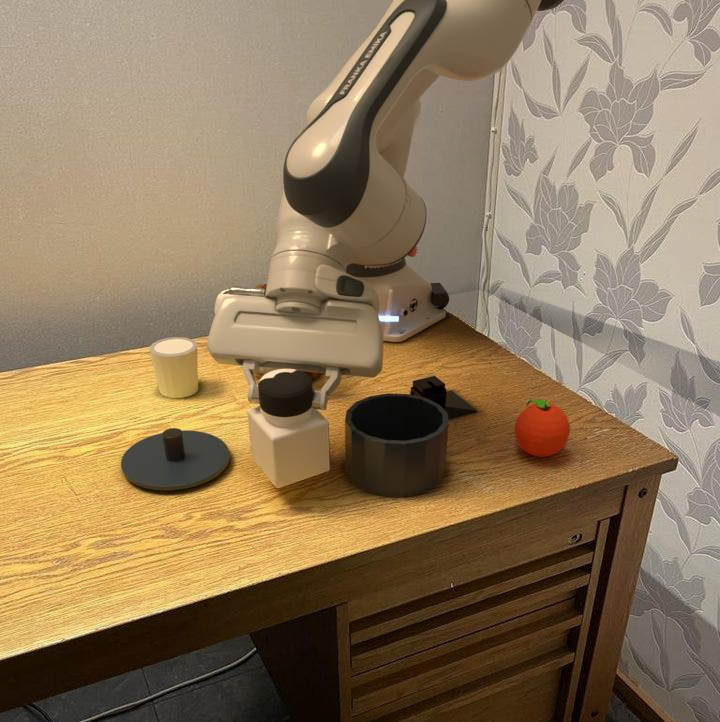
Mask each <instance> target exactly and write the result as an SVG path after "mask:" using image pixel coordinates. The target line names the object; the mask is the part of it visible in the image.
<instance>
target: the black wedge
mask: <svg viewBox="0 0 720 722" xmlns="http://www.w3.org/2000/svg"><path fill="white" fill-rule="evenodd" d="M409 394H410V395H415V396H419V397H424V398H427V399H429V400H431V401H433V402H435V403H437V404H439V405H440V406H441V407H442V408H443V409H444V410H445V411H446V412H447V414H448V421H449V420H453V419H457V418H461V417H465V416H469V415H473V414H477V413H478V409H477V408H475V407H474V406H473V405H472V404H470V403H469V402H468V401H466V400H465V399H463V398H462V397H461V396H460V395H458V394H457V393H456V392H454V391H453V390H448V389H447V388H446V383H445V382H443V381H442V380H441V379H440V378H438V377H437V376H435V375H431V376H428V377H423V378H419V379H415V380H412V386H411V387H410V392H409Z"/></svg>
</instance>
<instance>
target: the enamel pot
mask: <svg viewBox="0 0 720 722" xmlns="http://www.w3.org/2000/svg"><path fill="white" fill-rule="evenodd" d="M449 424H450V423H449V420H448V414H447V412H446V411H445V410H444V409H443V408H442V407H441V406H440V405H439V404H437V403H435V402H433V401H431V400H429V399H427V398H424V397H419V396H415V395H410V393H387V392H386V393H382V394H374V395H370V396H367V397H364V398H362V399H359V400H358V401H357V400H356V401H355V402H354V403H353V404H352V405H351V406H350V407H349V408H348V409H347V410H346V412H345V418H344V446H345V447H344V462H345V463H344V464H345V465H344V466H345V467H344V468H345V469H344V470H345V472H346V475H347V477H348V479H349V481H350V482H351V483H352V484H353V485H355V486H356V487H357V488H359V489H361V490H363V491H365V492H367V493H370V494H373V495H377V496H382V497H391V498H406V497H414V496H417V495H421V494H424V493H427V492H429V491H431V490H433V489H434V488H436V487H437V486H438V485H439V484H440V483H441V482H442V480H443V478H444V476H445V473H446V464H447V452H448V451H447V450H448V439H449Z"/></svg>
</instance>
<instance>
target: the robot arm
mask: <svg viewBox="0 0 720 722" xmlns="http://www.w3.org/2000/svg"><path fill="white" fill-rule="evenodd" d="M564 1H565V0H392V1H391V4H390V5H389V6H388V8H387V10H386V12H385V13H384V14H383V16H382V18H381V19H380V20H379V22H378V24H377V25H376V27H374V29H373V31H371V33H370V34H369V35H368V36H367V38H366V39H364V41H363V42H362V44H360V46H359V47H358V49H357V50H356V51H355V52H354V53H353V55H352V56H351V57H350V58H349V59H348V60H347V62H345V64H344V65H343V67H342V68H341V69H340V70H339V72H338V73H337V74H336V76H335V77H334V78H333V80H332V81H331V82H330V83H329V85H328V86H327V87H326V88H325V89H324V90H323V91H322V92H321V93H320V94H319V95H318V96H317V97H316V98H315V99H314V100H313V101H312V102H311V104H310V105H309V107H308V110H307V112H306V116H305V127H304V128H303V130H301V132H300V133H299V134H298V135H297V136H296V137H295V139H293V141H292V143H291V144H290V146H289V148H288V150H287V152H286V155H285V157H284V162H283V169H282V182H283V183H282V184H283V192H282V195H281V200H280V204H279V209H278V214H277V220H276V221H277V222H276V230H275V231H276V239H277V241H276V246H275V249H274V251H273V253H272V255H271V258H270V263H269V269H268V276H267V282H266V284H267V287H266V288H255V287H241V286H239V285H237V286H236V285H234V286H229V289H224V290H223V291H221V292H220V293H218V294H217V296H216V298H215V302H214V308H213V315H214V317H213V320H212V323H211V326H210V329H209V333H208V338H207V341H206V349H207V351H208V353H209V355H210V356H211V357H212V359H213V360H214V361H215V362H216V363H217V364H219V365H228V366H239V367H242V369H241V370H242V373H243V374H244V377H245V380H246V382H247V384H248V390H247V391H248V392H247V401H248V403H250V404H255V405H260V402H259V391H258V383H257V382H256V378H255V377H257V376H258V375H259V369H260V368H271V369H296V370H300V371H305V372H316V373H320V374H325V377H326V379H327V381H326V382H325V384H324V385H323V386H322V387H321V389H320V390H313V399H312V404H311V405H312V407H313V409H317V410H318V411H327V407H328V401H329V397H330V396H331V395H332V394H333V392H334V391H335V390H336V389H337V388H338V386H339V385H340V384H341V377H342V376H351V377H353V376H354V377H361V378H376V377H377V376H379V374H380V373H381V372H382V370H383V365H384V342H391V343H402V342H404V341H405V340H408V339H410V338H411V337H413V336H415V335H416V334H418V333H421V332H422V331H423V330H426V329H427V328H429V327H430V326H432V325H434V324H436V323H437V322H439V321H441V320H443V319H444V318H446V317H447V314H446V313H447V311H446V310H445V308H446V307H447V306H448V305H449V302H450V296H449V292H448V291H447V290H446V289H445V287H444V286H443V285H442V284H441V282H430V281H429V280H428V279H427V278H426V277H424V276H423V275H422V274H420V272H418V271H416V270H415V269H414V268H413V267H411V266H410V265H409V264H408V263H407V260H406V257H410V258H414V257H415V256H416V255H417V254H418V245H419V243H420V241H421V239H422V237H423V235H424V231H425V229H426V224H427V206H426V203H425V201H424V199H423V197H421V196H420V195H419V193H418V192H417V190H415V188H414V187H413V186H412V185H411V184H410V183H409V182H408V181H407V180H406V179H405V174H406V170H407V166H408V160H409V155H410V149H411V145H412V141H413V137H414V133H415V130H416V127H417V126H418V123H419V120H420V118H421V113H422V112H421V111H422V103H421V97H422V96H423V94H425V92H426V91H428V89H430V87H431V86H432V85H433V84H434V83H435V82H436V81H437V80H438V79H439V78H440V77H444V78H447V79H450V80H451V79H452V80H456V81H463V82H464V81H465V82H475V81H480V80H484V79H486V78H489V77H491V76H494V75H496V74H497V73H499V72H500V71H502V70H503V68H505V66H506V65H507V64H508V63H509V62H510V60H511V59H512V58H513V56H514V55H515V53H516V52H517V51H518V49H519V47H520V45H521V43H522V41H523V39H524V37H525V35H526V33H527V31H528V30H529V27H530V25H531V24H532V21H533V19H534V17H535V15H536V13H537V12H545V11H549V10H554V9H556V8H557V7H558V6H559V5H561V4H562V3H563V2H564Z"/></svg>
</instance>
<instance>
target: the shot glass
mask: <svg viewBox="0 0 720 722" xmlns="http://www.w3.org/2000/svg"><path fill="white" fill-rule="evenodd" d="M148 349H149V355H150V358H151V362H152V366H153V370H154V374H155V379H156V382H157V385H158V390H159V393H160V394H161V395H162V396H163V397H166V398H168V399H183V398H187V397H190V396H192V395H195V394H196V393H197V392H198V391H199V363H198V342H197V341H195V339H191V338H189V337H182V336H175V337H172V336H171V337H166V338H162V339H159V340H157V341H155V342H152V344H150V345H149V348H148Z"/></svg>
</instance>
